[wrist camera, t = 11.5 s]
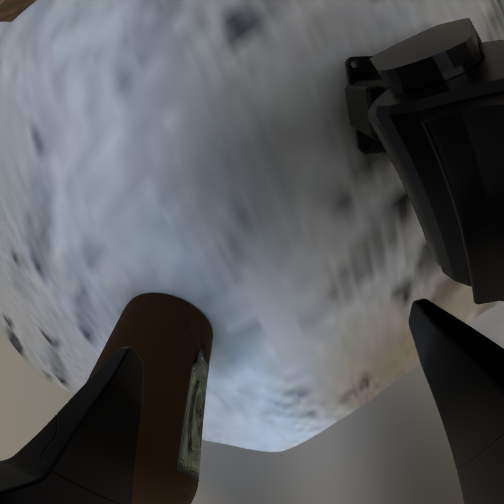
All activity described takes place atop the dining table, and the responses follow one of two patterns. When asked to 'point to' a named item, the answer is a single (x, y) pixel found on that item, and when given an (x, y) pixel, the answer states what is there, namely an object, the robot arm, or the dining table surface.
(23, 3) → the pocket rack
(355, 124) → the robot arm
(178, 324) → the olive oil
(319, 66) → the dining table surface
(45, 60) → the dining table surface
